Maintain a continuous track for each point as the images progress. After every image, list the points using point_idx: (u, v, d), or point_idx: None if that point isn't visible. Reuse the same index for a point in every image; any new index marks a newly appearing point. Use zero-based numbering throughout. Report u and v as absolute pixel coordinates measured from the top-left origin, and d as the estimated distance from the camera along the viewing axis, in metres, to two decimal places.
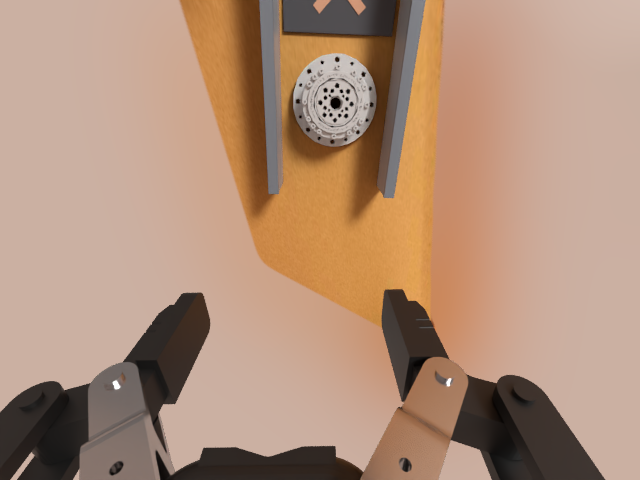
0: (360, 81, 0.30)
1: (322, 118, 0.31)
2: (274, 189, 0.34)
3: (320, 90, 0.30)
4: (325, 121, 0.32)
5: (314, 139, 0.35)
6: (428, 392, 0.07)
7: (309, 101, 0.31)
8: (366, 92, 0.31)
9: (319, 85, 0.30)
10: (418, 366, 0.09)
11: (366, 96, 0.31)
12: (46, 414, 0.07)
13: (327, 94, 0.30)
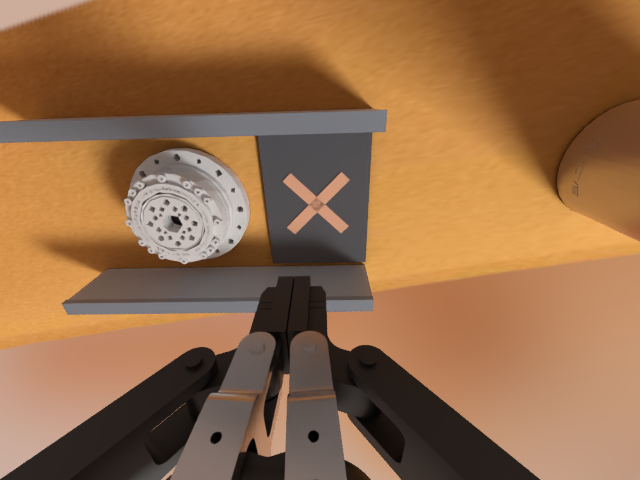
0: (208, 250, 0.23)
1: (146, 206, 0.21)
2: None
3: (182, 201, 0.21)
4: (144, 210, 0.21)
5: (132, 184, 0.23)
6: (303, 366, 0.08)
7: (163, 186, 0.20)
8: (199, 257, 0.23)
9: (188, 199, 0.21)
10: None
11: (194, 258, 0.23)
12: (210, 374, 0.08)
13: (179, 211, 0.21)
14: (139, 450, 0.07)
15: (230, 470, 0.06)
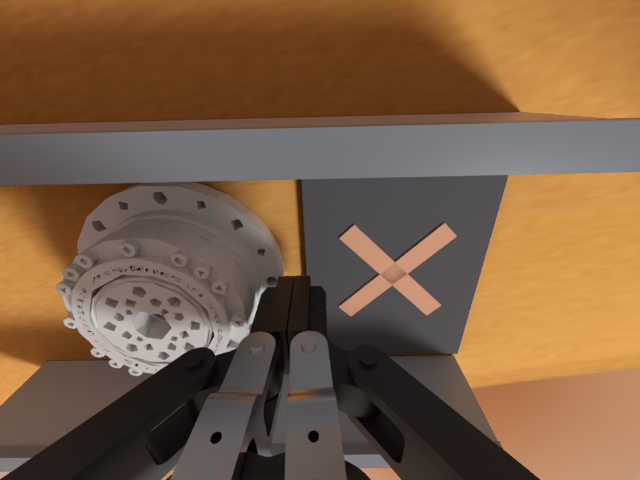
0: None
1: (101, 297, 0.11)
2: None
3: (170, 289, 0.11)
4: (96, 305, 0.11)
5: (82, 242, 0.13)
6: (303, 366, 0.08)
7: (131, 264, 0.10)
8: None
9: (182, 286, 0.11)
10: None
11: None
12: (210, 374, 0.08)
13: (165, 307, 0.11)
14: (139, 450, 0.07)
15: (230, 470, 0.06)
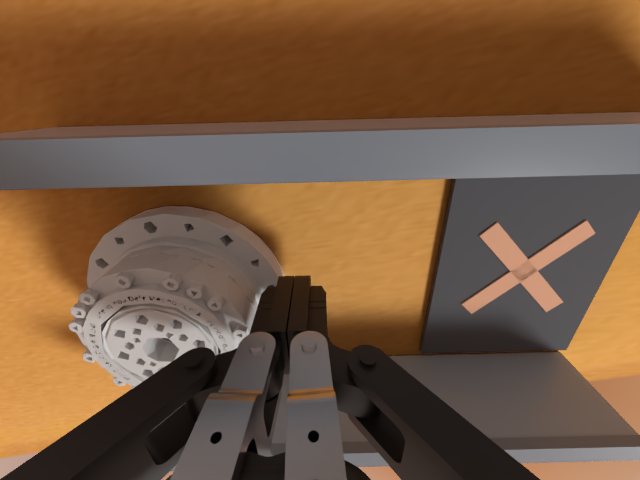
0: None
1: (109, 330, 0.11)
2: None
3: (169, 313, 0.11)
4: (107, 338, 0.12)
5: (91, 281, 0.14)
6: (303, 366, 0.08)
7: (128, 295, 0.11)
8: None
9: (179, 308, 0.11)
10: None
11: None
12: (210, 374, 0.08)
13: (168, 330, 0.11)
14: (139, 450, 0.07)
15: (230, 470, 0.06)
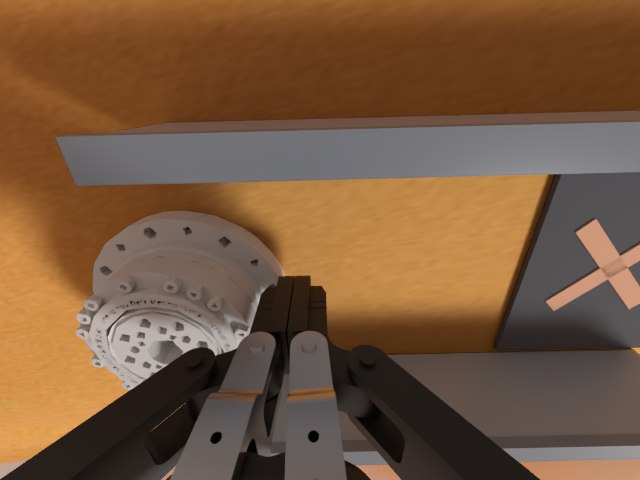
0: None
1: (114, 335, 0.12)
2: (90, 167, 0.07)
3: (171, 315, 0.11)
4: (112, 343, 0.12)
5: (96, 288, 0.14)
6: (303, 366, 0.08)
7: (130, 299, 0.11)
8: None
9: (180, 310, 0.11)
10: None
11: None
12: (210, 374, 0.08)
13: (171, 332, 0.12)
14: (139, 450, 0.07)
15: (230, 470, 0.06)
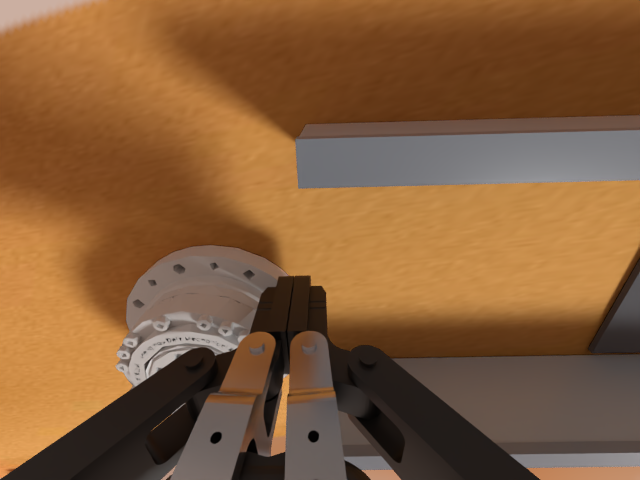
0: None
1: (152, 368, 0.12)
2: (319, 169, 0.07)
3: None
4: (150, 375, 0.13)
5: (130, 320, 0.15)
6: (303, 367, 0.08)
7: (166, 337, 0.12)
8: None
9: (213, 345, 0.12)
10: None
11: None
12: (210, 374, 0.08)
13: None
14: (139, 450, 0.07)
15: (230, 470, 0.06)
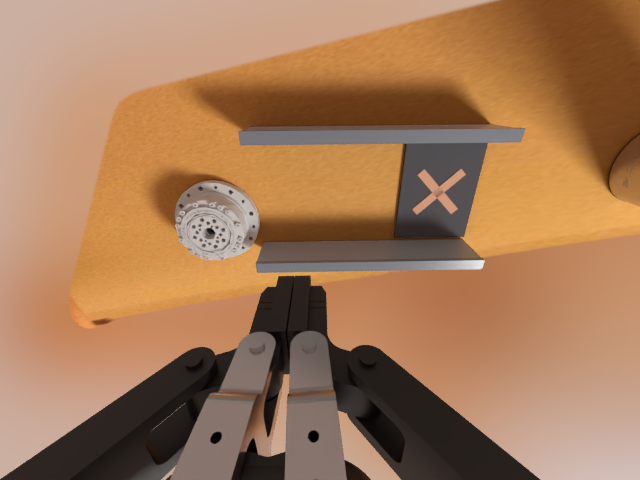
0: (236, 246, 0.32)
1: (189, 226, 0.31)
2: (245, 139, 0.25)
3: (211, 216, 0.30)
4: (188, 229, 0.31)
5: (176, 214, 0.33)
6: (303, 366, 0.08)
7: (197, 209, 0.30)
8: (231, 253, 0.33)
9: (215, 214, 0.30)
10: None
11: (228, 254, 0.33)
12: (210, 374, 0.08)
13: (211, 224, 0.31)
14: (139, 450, 0.07)
15: (230, 470, 0.06)
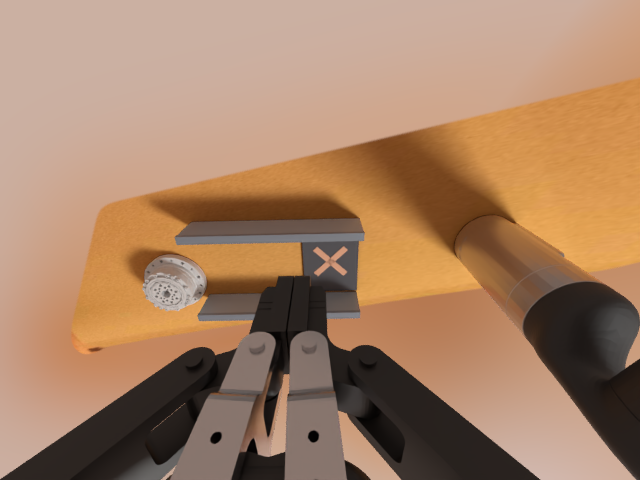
0: (186, 301, 0.46)
1: (152, 289, 0.44)
2: (180, 241, 0.39)
3: (167, 283, 0.44)
4: (152, 291, 0.44)
5: (145, 277, 0.47)
6: (304, 366, 0.08)
7: (156, 279, 0.43)
8: (184, 306, 0.46)
9: (169, 282, 0.44)
10: None
11: (182, 306, 0.46)
12: (210, 374, 0.08)
13: (167, 288, 0.44)
14: (139, 450, 0.07)
15: (230, 470, 0.06)
